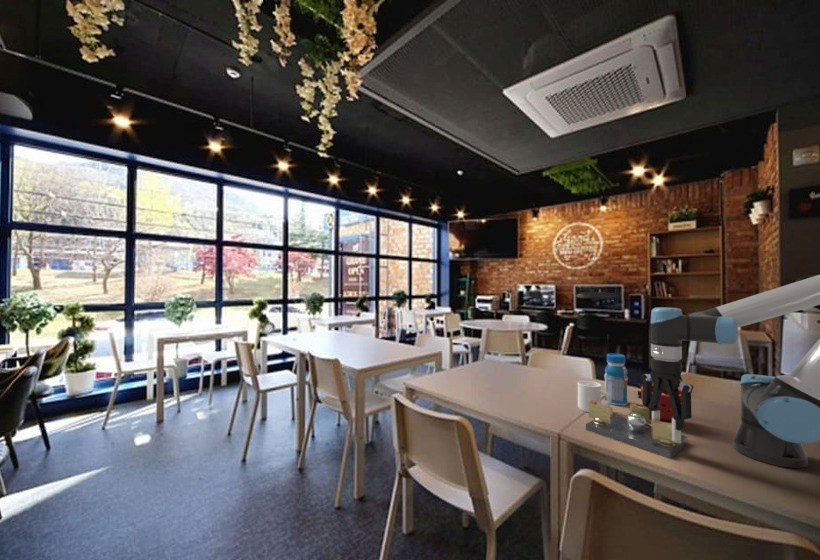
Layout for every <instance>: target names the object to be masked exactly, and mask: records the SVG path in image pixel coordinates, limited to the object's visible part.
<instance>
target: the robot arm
mask: <svg viewBox="0 0 820 560" xmlns="http://www.w3.org/2000/svg"><path fill="white" fill-rule="evenodd" d="M817 306H820V274H817V275H813V276H811V277H808V278H805V279H801V280H797V281H795V282H792V283H789V284H788V283H787V284H785V285H783V286H779V287H776V288H773V289H769V290H766V291H764V292H759V293H757V294H754V295H751V296H747V297H745V298H741V299H737V300H736V301H735V300H734V301H732V302H729V303H726V304H722V305H719V306H716V307H714V308H710V309H707V310H702V311H696V312H693V313H691V314H689V315H688V314H687V315H686V314H683V311H682V309H681V308H677V307H666V306H665V307H663V306H661V307H654V308H652V309H651V314H650V356H651V358H650V370H651V372H650V373H645V374H643V373H642V374H641V375H640V377H641V381H643V402H642V405H643V406H642V407H644V406H646V407H647V408H648V409H649V419H650V420H652V419H657V420H659V421H660V411H659V410H656V409H659V408H658V405H659V401H660V398H661V395H662V394H663V393H662V391H663V390H666V391H667V393H668V395H669V397H670V400H671V404H672V408H673V412H674V416H675V417H673V418H672V441H678V440H681V435H682V431H684V424H685V420H689V419H692V392H693V390H694V385H692V384H688V383H687V382H684V381H683V379H682V374H683V373H682V372H683V371H682V370H683V368H682V367H683V366H682V361H681V360H683V353H682V352H683V351H682V348H683V347H682V345H683V343H682V342H683V341H686V342H700V343H710V344H719V345H723V344H725V345H727V344H728V345H733V344H736V343H737V341H738V336H739V328H742V327H745V326H748V325H752V324H756V323H759V322H763V321H766V320H770V319H773V318H777V317H781V316H784V315H788V314H792V313H795V312H798V311H802V310H806V309H810V308H812V307H817ZM652 381H654V386H653V393H652ZM739 385H740V423H739V425H738V428H737V430H736V432H735V434H734V436H733V440H732V441H733V442H732V447H733V449H734V450H736V451H737V452H739V453H740V454H742V455H744V456H746V457H749V458H751V459H753V460H756V461H758V462H759V461H760V462H761V463H766V464H769V465H773V466H778V467H782V468H783V467H784V468H789V469H790V468H793V469H800V468H801V469H802V468H803V469H804V468H806V467H808V462H809V461H808V458H809V457H808V454H807V452H806V450H805V448H804V445H803V444H812V443H815V442H818V441H820V338H819V339H818V340H817V341H816V342H815V343H814V344H813V345H812V347H811V348H810V349H809V350H808V352H806V354H805V355H804V356H803V357H802V358H801V360H800V361H799V362H798V363H797V364H796V365H795V366H794V368H792V370H791V371H790V372H789V373H788V374H783V375H776V376H771V375H762V374H753V373H751V374H750V373H746V374H743V375H741V377H740V383H739ZM679 387H680V388H679ZM678 389H681V390H682V391H681V401H680V398H679V390H678Z"/></svg>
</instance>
